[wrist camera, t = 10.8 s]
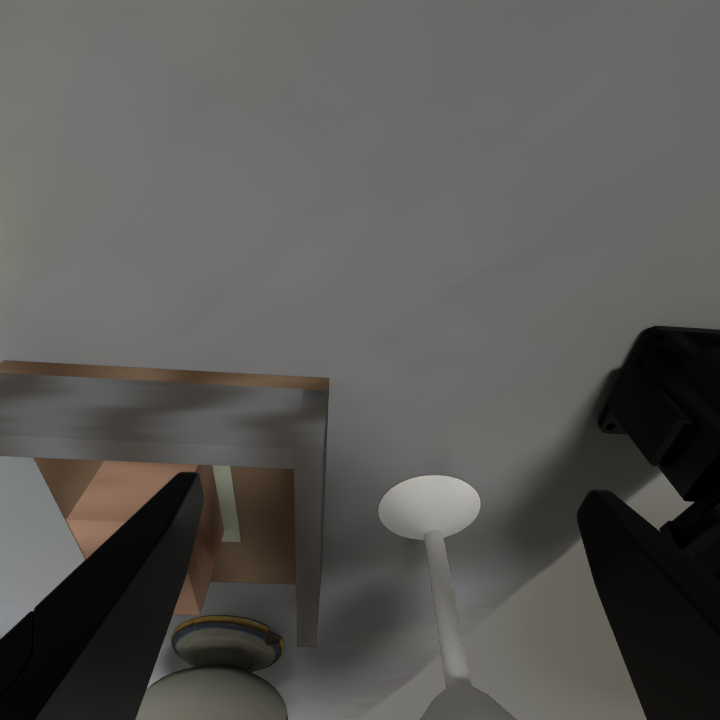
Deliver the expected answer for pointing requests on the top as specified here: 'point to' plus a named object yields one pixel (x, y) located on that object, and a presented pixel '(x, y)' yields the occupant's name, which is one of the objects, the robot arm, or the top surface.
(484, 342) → the top surface
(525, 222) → the top surface
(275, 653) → the apothecary jar
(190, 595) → the block
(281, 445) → the brown rimmed piece
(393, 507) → the champagne flute
